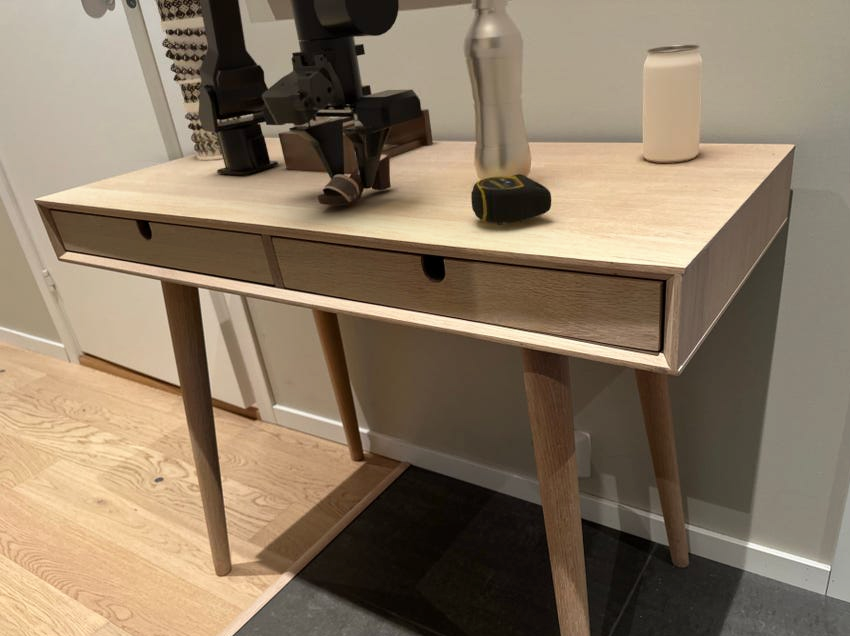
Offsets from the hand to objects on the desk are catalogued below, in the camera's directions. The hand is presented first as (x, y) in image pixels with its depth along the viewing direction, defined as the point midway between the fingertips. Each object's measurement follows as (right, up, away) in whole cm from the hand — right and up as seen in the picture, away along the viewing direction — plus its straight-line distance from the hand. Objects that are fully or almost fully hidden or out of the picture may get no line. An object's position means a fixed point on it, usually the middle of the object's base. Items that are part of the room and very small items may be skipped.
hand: (353, 186), depth 80 cm
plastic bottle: (+17, 0, 0) cm, 17 cm away
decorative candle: (-28, +14, +37) cm, 49 cm away
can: (+37, +4, +4) cm, 38 cm away
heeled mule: (0, -1, +1) cm, 1 cm away
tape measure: (+18, -6, -12) cm, 22 cm away
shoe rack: (-3, +10, +23) cm, 26 cm away
